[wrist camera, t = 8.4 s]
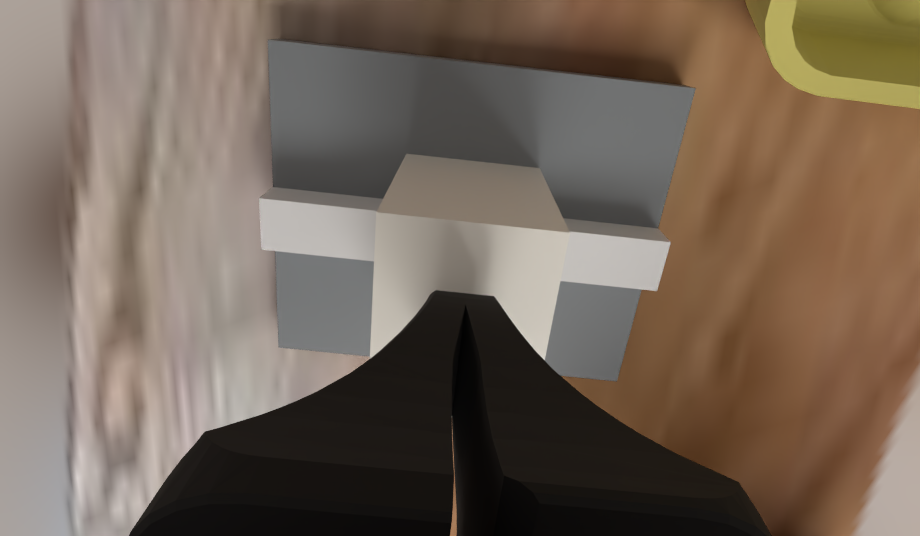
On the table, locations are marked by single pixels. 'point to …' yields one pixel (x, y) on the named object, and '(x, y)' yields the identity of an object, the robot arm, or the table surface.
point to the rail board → (476, 139)
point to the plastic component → (844, 47)
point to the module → (467, 243)
